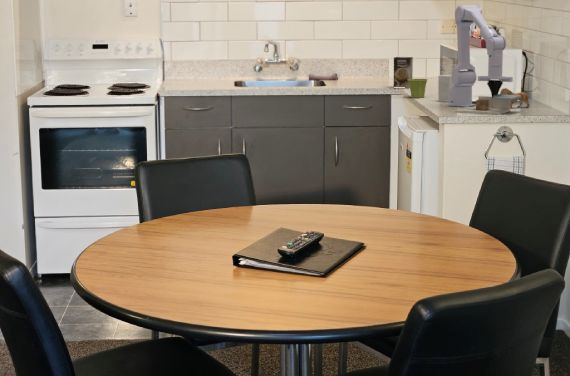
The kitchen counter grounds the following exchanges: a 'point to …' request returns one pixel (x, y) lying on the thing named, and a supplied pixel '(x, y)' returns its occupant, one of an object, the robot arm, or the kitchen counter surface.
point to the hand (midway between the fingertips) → (494, 98)
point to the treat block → (482, 105)
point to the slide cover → (506, 97)
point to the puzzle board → (494, 106)
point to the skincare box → (444, 87)
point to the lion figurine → (522, 98)
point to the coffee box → (403, 71)
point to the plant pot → (417, 87)
